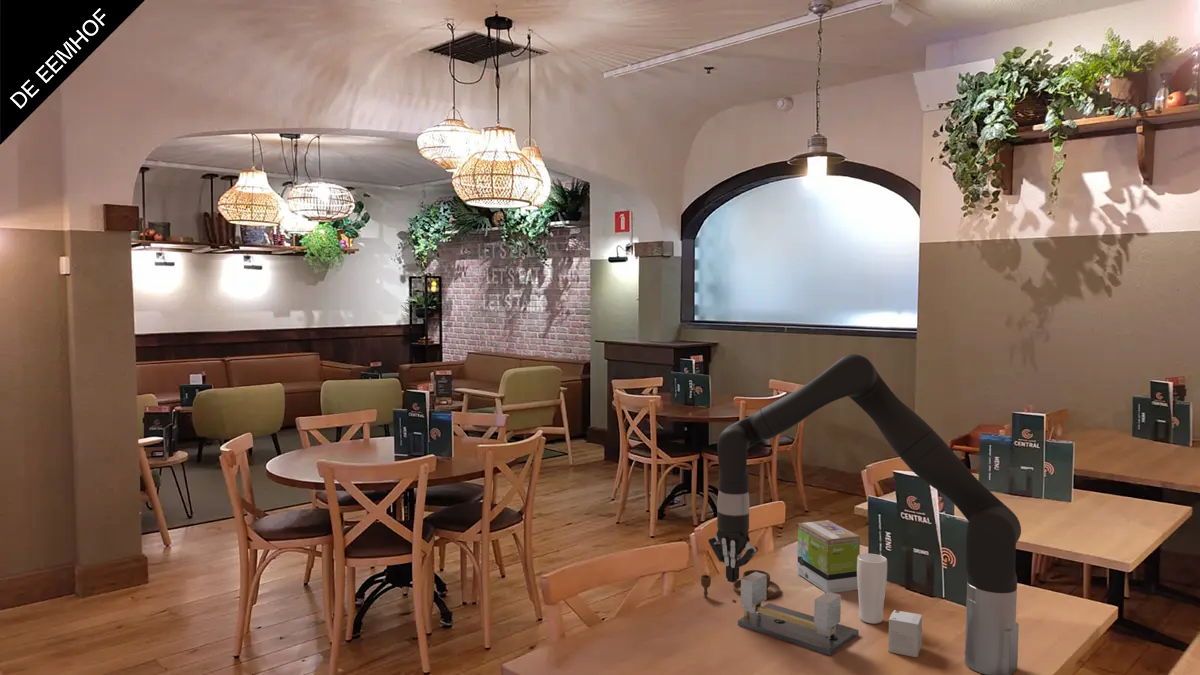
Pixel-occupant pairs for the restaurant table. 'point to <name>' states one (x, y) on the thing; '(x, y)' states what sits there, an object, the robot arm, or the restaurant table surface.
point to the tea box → (828, 556)
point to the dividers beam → (824, 614)
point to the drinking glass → (871, 586)
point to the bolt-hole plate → (798, 631)
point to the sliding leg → (753, 591)
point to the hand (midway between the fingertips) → (732, 581)
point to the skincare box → (905, 633)
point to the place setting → (707, 581)
